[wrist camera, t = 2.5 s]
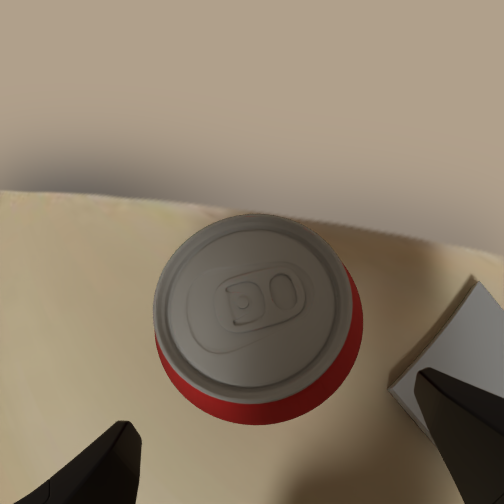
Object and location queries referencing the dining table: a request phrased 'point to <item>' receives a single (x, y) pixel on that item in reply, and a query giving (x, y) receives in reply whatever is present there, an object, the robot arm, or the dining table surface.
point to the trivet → (461, 352)
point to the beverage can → (256, 319)
